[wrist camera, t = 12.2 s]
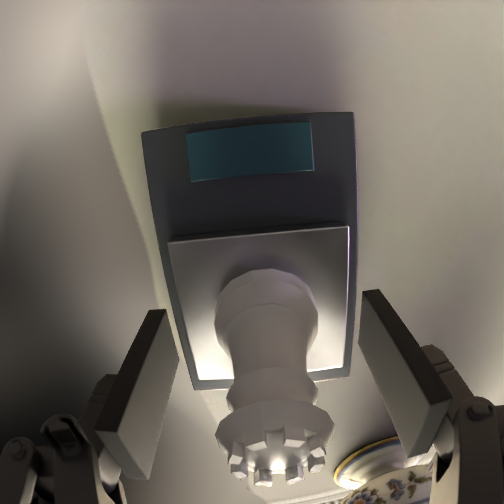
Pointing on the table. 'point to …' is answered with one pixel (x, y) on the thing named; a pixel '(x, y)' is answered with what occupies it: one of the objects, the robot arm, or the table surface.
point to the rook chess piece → (270, 378)
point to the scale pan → (258, 258)
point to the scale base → (254, 191)
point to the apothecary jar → (384, 475)
